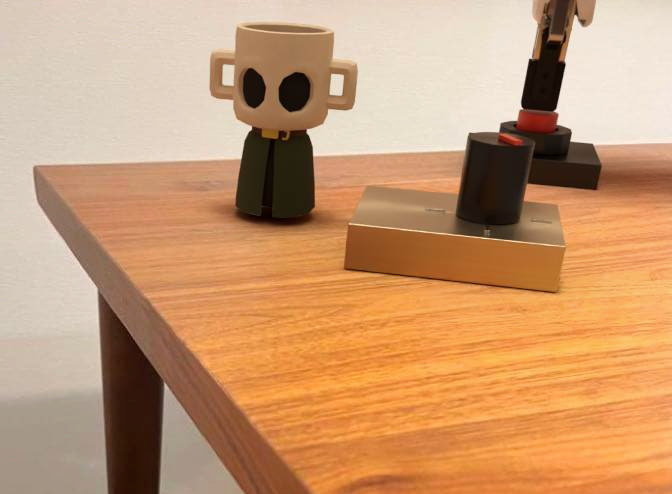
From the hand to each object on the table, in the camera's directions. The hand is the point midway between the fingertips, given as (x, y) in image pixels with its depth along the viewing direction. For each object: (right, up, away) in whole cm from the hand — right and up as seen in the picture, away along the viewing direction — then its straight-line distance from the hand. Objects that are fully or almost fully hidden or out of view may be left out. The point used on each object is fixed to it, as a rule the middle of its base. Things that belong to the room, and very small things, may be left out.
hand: (537, 108), depth 89 cm
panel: (-12, -20, -21) cm, 31 cm away
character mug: (-25, -15, -14) cm, 32 cm away
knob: (-10, -18, -23) cm, 30 cm away
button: (0, -2, +1) cm, 2 cm away
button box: (0, -5, +3) cm, 6 cm away
